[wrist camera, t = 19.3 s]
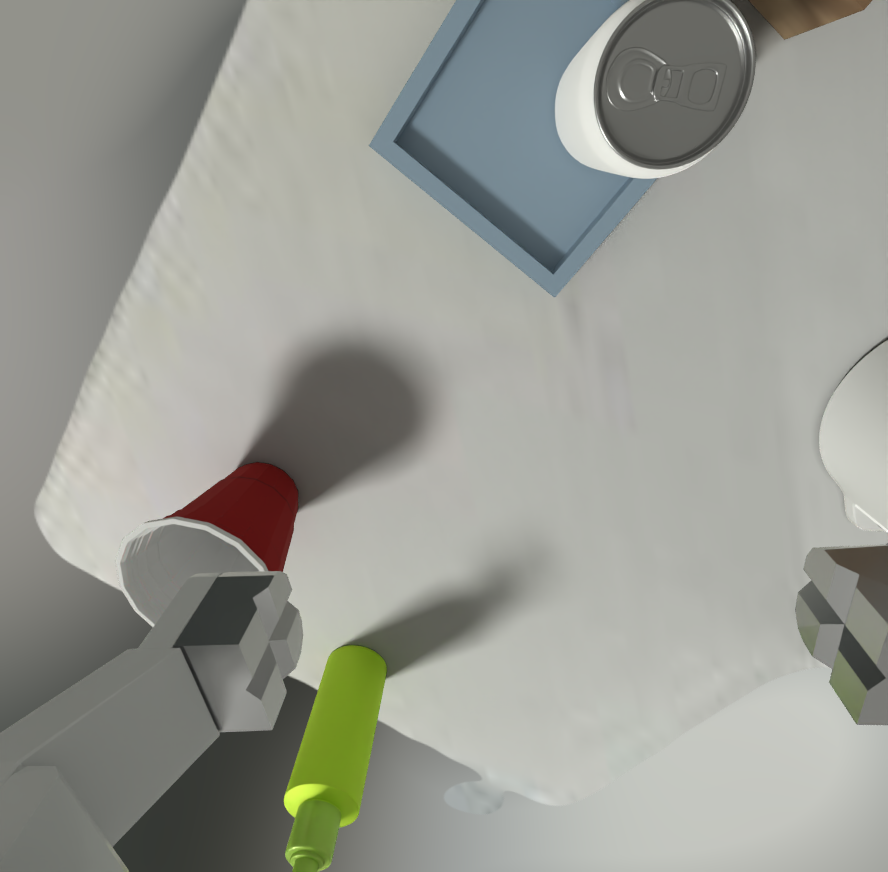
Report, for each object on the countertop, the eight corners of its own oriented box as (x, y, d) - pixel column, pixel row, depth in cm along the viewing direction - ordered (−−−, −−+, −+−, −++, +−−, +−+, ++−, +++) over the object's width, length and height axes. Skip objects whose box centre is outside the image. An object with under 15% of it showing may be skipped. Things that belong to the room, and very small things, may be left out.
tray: (722, 88, 31) (737, 85, 29) (551, 290, 36) (554, 297, 34) (529, -109, 27) (532, -127, 26) (375, 145, 33) (368, 145, 31)
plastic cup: (205, 413, 42) (110, 501, 32) (340, 457, 43) (292, 557, 33) (189, 521, 47) (103, 629, 37) (312, 558, 48) (262, 674, 38)
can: (565, 28, 29) (603, -39, 19) (688, 39, 29) (798, -22, 18) (543, 164, 32) (566, 173, 22) (655, 175, 32) (734, 189, 21)
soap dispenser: (366, 631, 52) (302, 881, 34) (396, 680, 55) (352, 934, 37) (312, 645, 53) (223, 892, 35) (344, 691, 56) (276, 942, 38)
